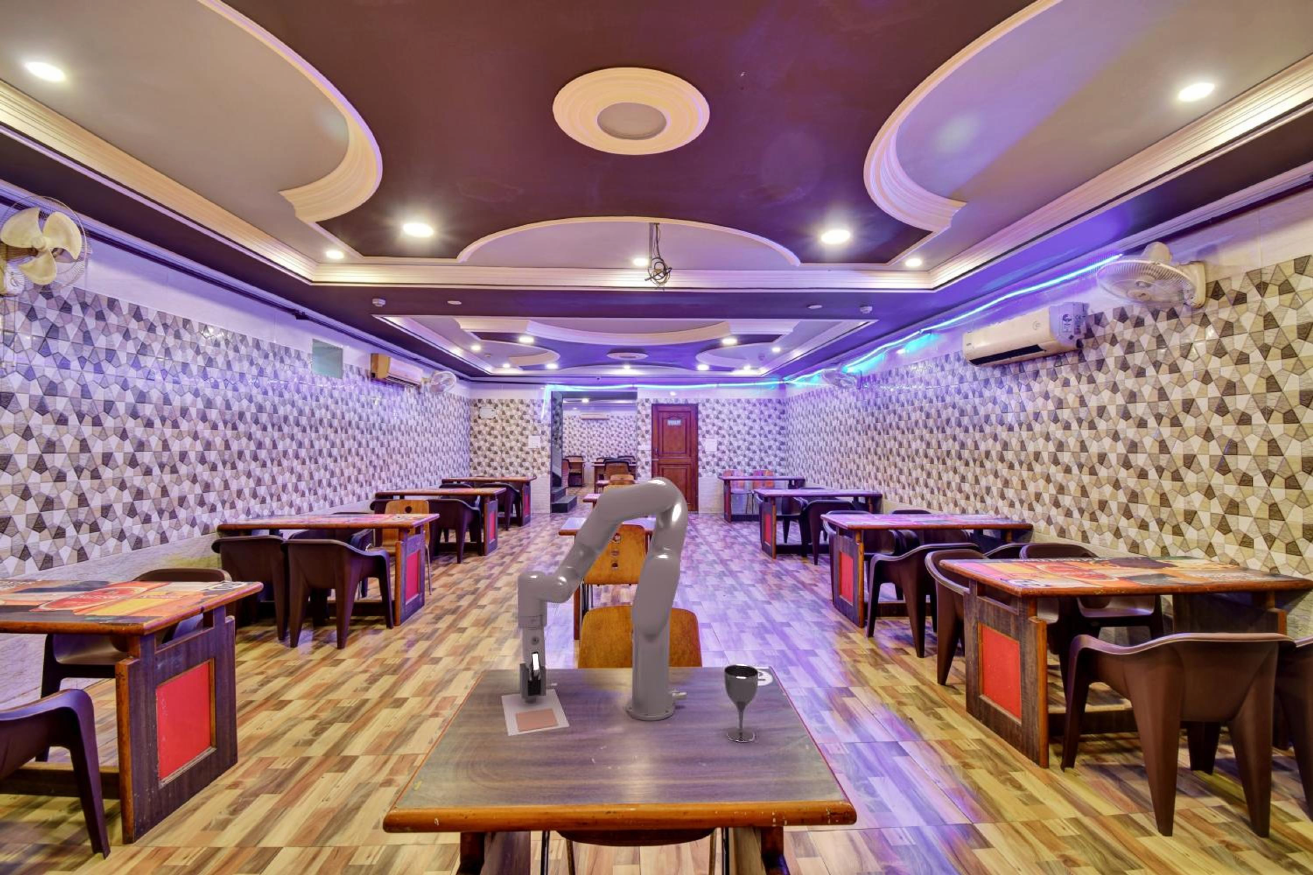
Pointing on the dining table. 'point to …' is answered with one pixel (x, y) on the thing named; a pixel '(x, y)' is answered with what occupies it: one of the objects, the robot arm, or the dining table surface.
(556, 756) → the dining table surface
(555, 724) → the board
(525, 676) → the dark grey block
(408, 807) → the dining table surface
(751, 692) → the wine glass
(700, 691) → the dining table surface
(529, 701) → the post
